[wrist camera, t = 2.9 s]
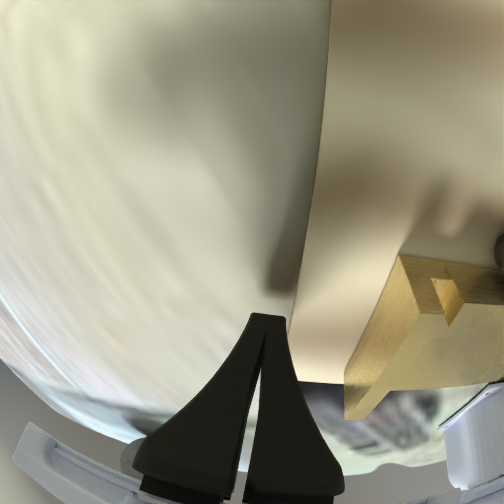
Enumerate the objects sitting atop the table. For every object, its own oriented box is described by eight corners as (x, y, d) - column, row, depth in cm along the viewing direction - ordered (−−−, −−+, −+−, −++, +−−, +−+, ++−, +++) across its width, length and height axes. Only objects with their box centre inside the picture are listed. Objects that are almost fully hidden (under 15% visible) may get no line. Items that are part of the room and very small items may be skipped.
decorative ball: (130, 432, 36) (112, 482, 27) (133, 420, 30) (109, 482, 22) (188, 454, 37) (174, 505, 29) (204, 446, 31) (187, 510, 23)
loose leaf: (493, 367, 13) (503, 401, 11) (343, 371, 14) (344, 419, 12) (558, 278, 8) (581, 314, 6) (399, 252, 10) (421, 311, 7)
